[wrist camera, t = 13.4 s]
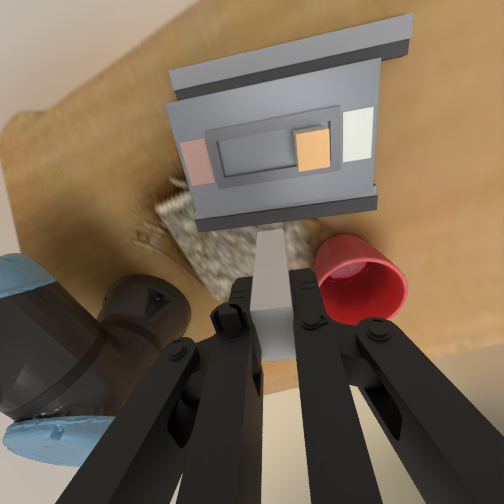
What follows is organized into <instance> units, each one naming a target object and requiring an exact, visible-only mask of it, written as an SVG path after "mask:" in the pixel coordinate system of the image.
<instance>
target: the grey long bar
mask: <svg viewBox="0 0 504 504" xmlns="http://www.w3.org/2000/svg"><path fill="white" fill-rule="evenodd" d="M413 17H414V13H411V14H406V15H402V16H398V17H394V18H389V19H385V20H381V21H377V22H372V23H368V24H364V25H360V26H355V27H351V28H347V29H343V30H339V31H334V32H330V33H326V34H322V35H317V36H313V37H309V38H305V39H300V40H296V41H292V42H288V43H283V44H279V45H275V46H271V47H266V48H262V49H258V50H254V51H249V52H245V53H241V54H237V55H232V56H228V57H224V58H220V59H215V60H211V61H207V62H203V63H199V64H194V65H190V66H186V67H182V68H177V69H173V70H169V71H168V72H169V76H170V79H171V83H172V87H173V90H174V91H175V93H176V97H177V101H180V100H185V99H189V98H194V97H199V96H203V95H208V94H213V93H217V92H222V91H227V90H231V89H236V88H241V87H245V86H250V85H255V84H259V83H264V82H269V81H273V80H278V79H283V78H287V77H292V76H297V75H301V74H306V73H311V72H315V71H320V70H325V69H329V68H334V67H339V66H343V65H348V64H353V63H357V62H362V61H367V60H371V59H376V58H381V61H383V60H388V59H393V58H398V57H402V56H405V55H407V54H408V47H409V39H410V38H411V36H412V26H413Z"/></svg>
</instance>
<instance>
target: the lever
mask: <svg viewBox="0 0 504 504" xmlns="http://www.w3.org/2000/svg"><path fill="white" fill-rule="evenodd" d="M293 136H294V148H295V160H296V165H297V168H298V171H299V172H300V171H307V170H313V169H320V168H326V167H330V138H329V128H327V127H325V126H323V125H318V126H313V127H307V128H302V129H296V130H293Z"/></svg>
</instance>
